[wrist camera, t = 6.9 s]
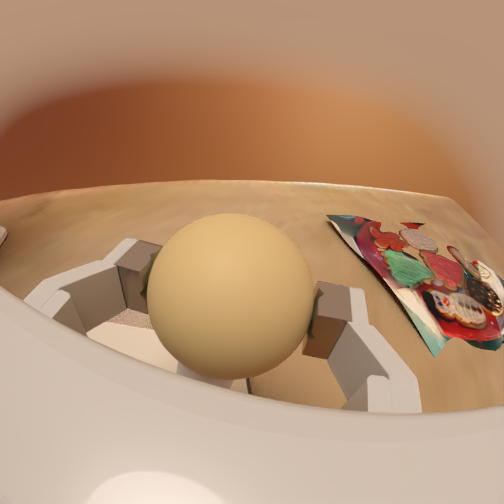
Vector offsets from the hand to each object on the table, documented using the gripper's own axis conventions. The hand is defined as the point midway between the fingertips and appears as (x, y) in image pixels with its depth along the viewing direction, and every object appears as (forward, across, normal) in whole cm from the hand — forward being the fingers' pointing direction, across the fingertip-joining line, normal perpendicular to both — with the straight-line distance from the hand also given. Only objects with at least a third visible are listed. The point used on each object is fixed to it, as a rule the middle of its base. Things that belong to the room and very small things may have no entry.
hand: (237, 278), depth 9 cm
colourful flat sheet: (+30, -30, +16) cm, 46 cm away
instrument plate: (-4, +8, +10) cm, 13 cm away
